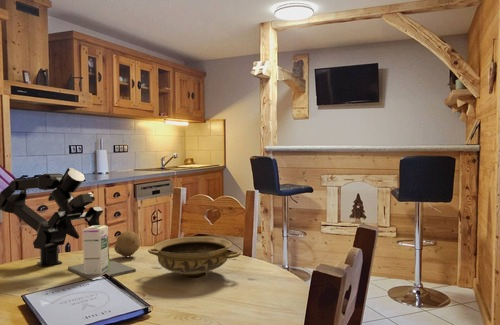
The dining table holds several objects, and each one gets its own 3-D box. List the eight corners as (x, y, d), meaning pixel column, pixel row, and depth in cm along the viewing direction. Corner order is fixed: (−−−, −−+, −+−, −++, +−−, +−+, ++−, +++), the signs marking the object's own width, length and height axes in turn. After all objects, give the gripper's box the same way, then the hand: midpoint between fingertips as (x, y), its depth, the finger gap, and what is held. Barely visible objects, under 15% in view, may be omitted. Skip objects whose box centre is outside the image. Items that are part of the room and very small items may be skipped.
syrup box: (101, 274, 117) (100, 228, 117) (83, 274, 118) (82, 228, 118) (109, 269, 123) (108, 225, 123) (92, 269, 123) (91, 225, 123)
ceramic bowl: (130, 284, 110) (129, 250, 110) (165, 263, 133) (165, 235, 133) (230, 290, 103) (229, 254, 103) (249, 267, 127) (248, 237, 127)
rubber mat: (68, 268, 128) (68, 266, 128) (108, 261, 138) (108, 258, 138) (93, 280, 114) (93, 278, 114) (135, 271, 124) (135, 268, 124)
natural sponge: (145, 256, 144) (145, 230, 144) (124, 261, 137) (124, 233, 137) (132, 253, 150) (132, 228, 150) (111, 257, 143) (111, 231, 143)
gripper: (53, 186, 120) (78, 223, 116) (99, 184, 137) (122, 216, 133) (37, 210, 124) (60, 247, 119) (83, 204, 141) (106, 236, 136)
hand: (89, 235), depth 126 cm, fingers open, 9 cm apart
